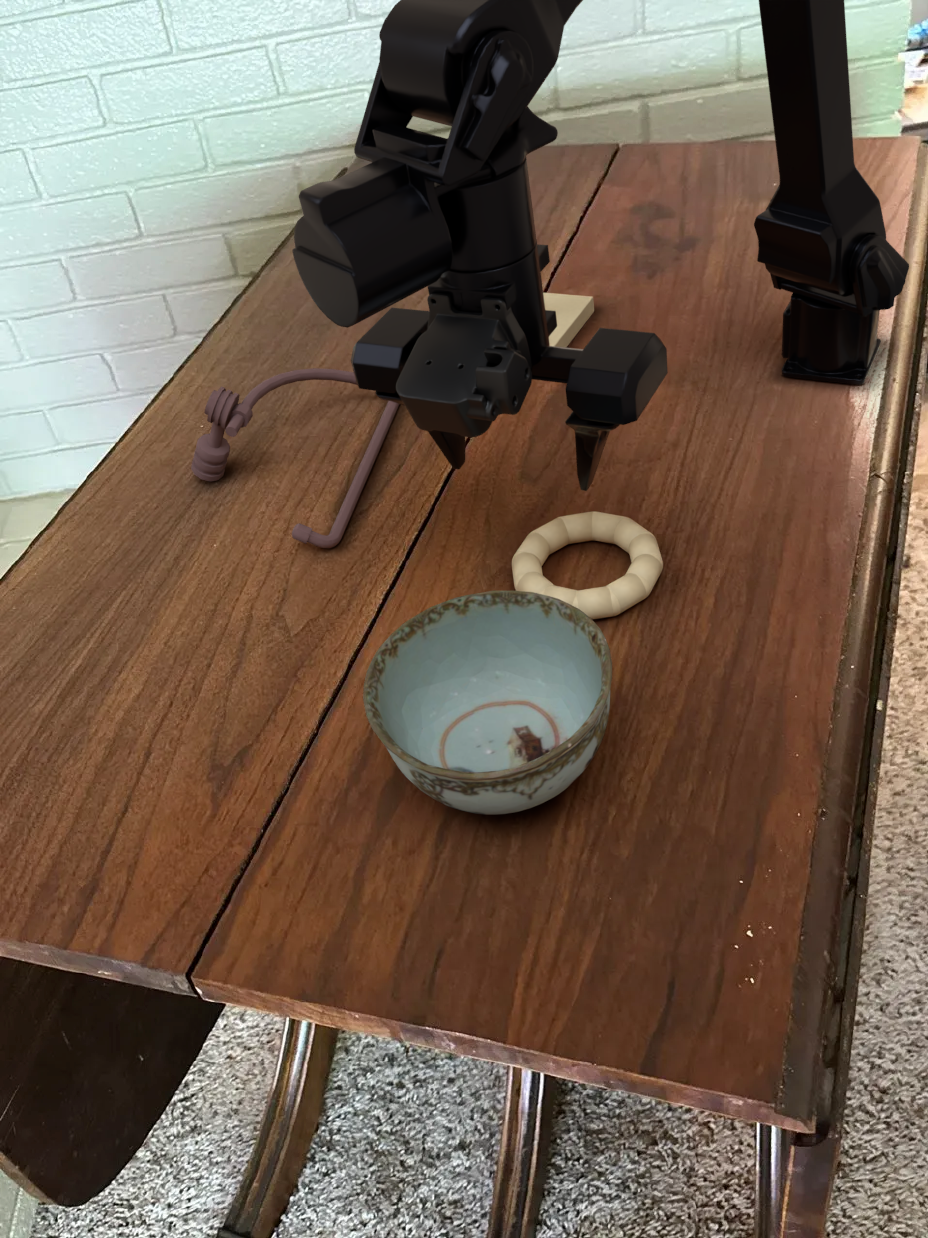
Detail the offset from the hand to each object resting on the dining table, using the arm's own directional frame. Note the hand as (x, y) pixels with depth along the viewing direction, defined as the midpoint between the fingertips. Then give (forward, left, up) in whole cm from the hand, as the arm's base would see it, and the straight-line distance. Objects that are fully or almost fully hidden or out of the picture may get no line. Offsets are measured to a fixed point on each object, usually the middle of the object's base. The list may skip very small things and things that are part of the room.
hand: (521, 476), depth 71 cm
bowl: (-6, +17, -8) cm, 20 cm away
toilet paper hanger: (+25, -5, -8) cm, 27 cm away
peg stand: (+14, -30, -8) cm, 34 cm away
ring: (-4, 0, -7) cm, 8 cm away
